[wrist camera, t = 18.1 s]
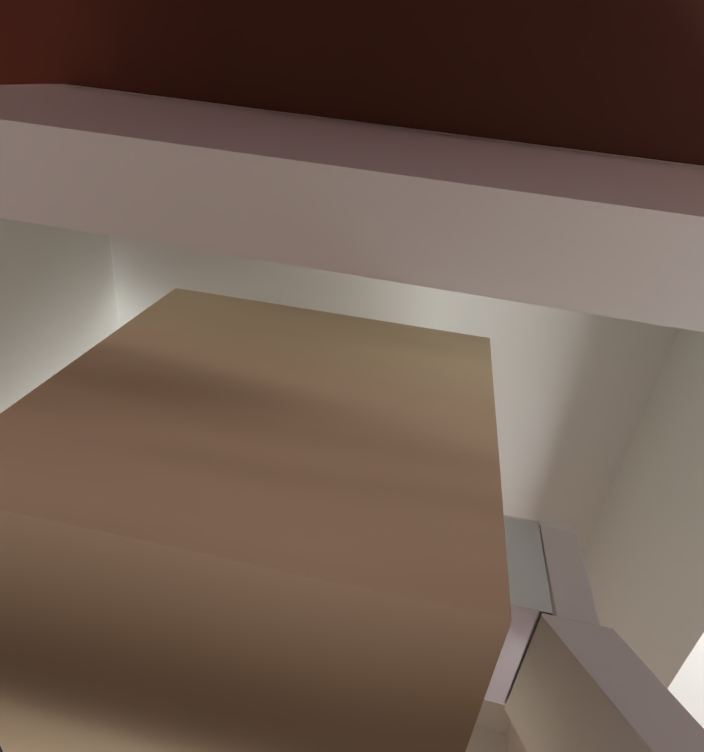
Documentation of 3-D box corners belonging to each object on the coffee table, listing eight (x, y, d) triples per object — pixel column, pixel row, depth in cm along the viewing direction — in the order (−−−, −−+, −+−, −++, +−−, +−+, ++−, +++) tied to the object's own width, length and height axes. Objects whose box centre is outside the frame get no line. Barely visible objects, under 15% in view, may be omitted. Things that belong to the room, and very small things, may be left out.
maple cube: (434, 570, 11) (411, 903, 6) (190, 519, 11) (19, 792, 7) (490, 337, 8) (511, 620, 4) (175, 287, 9) (-103, 486, 5)
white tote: (796, 177, 10) (1091, 270, 5) (531, 737, 19) (550, 958, 14) (62, 83, 12) (-220, 89, 7) (139, 638, 21) (39, 805, 16)
